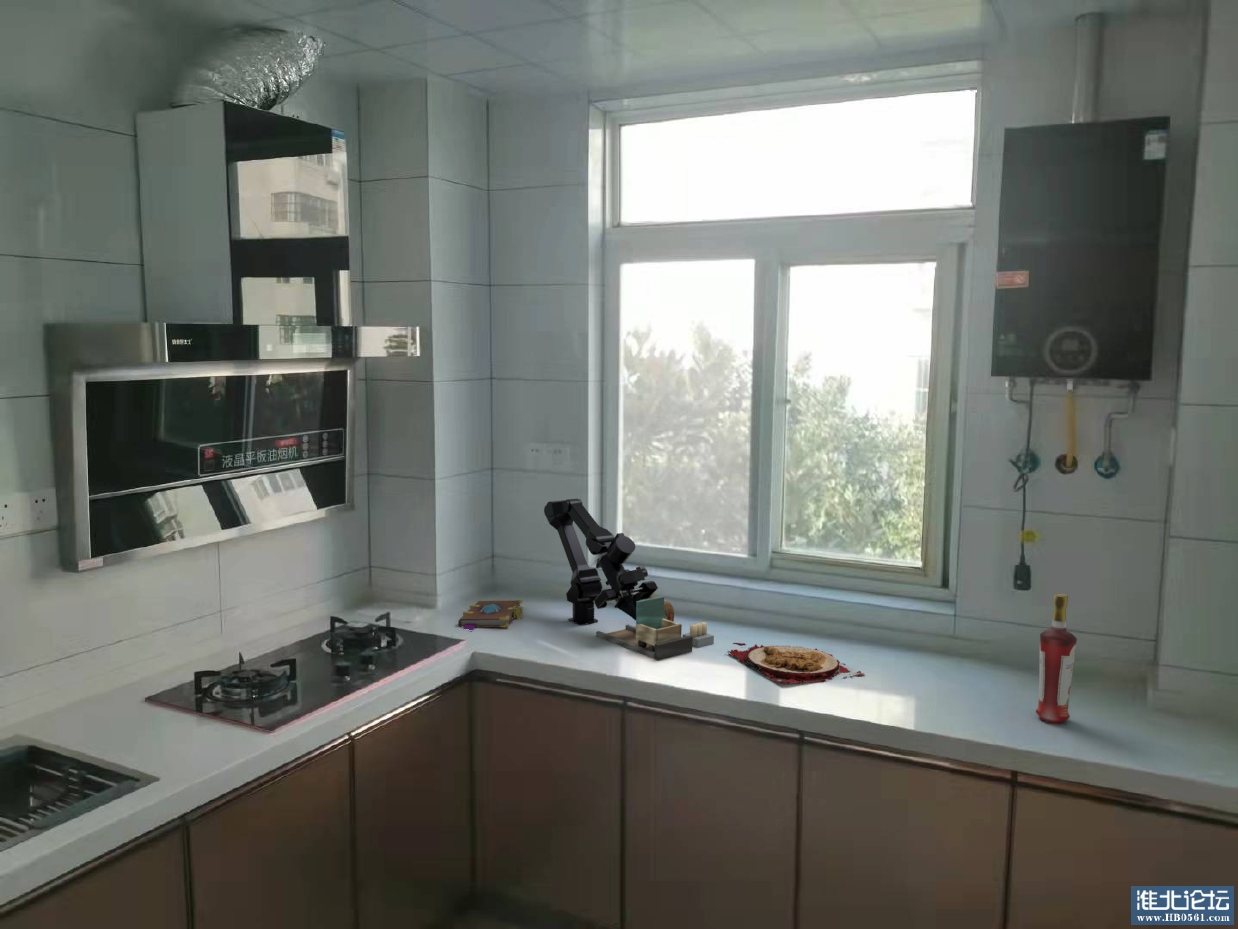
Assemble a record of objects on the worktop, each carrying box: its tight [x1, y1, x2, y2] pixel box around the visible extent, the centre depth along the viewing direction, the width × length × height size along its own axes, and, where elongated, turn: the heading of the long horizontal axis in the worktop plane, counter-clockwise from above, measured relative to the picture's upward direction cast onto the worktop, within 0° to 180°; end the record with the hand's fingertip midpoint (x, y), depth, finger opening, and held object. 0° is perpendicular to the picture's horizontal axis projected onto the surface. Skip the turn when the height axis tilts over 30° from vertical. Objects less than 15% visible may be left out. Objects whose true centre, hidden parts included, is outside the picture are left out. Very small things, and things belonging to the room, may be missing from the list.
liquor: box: [1035, 593, 1078, 724], centre depth 208 cm, size 7×7×28 cm
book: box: [458, 599, 524, 633], centre depth 279 cm, size 16×25×5 cm, turn 173°
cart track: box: [595, 624, 693, 661], centre depth 256 cm, size 26×12×5 cm, turn 40°
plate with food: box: [728, 642, 865, 685], centre depth 243 cm, size 25×26×4 cm
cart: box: [635, 595, 683, 652], centre depth 251 cm, size 8×9×13 cm
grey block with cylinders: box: [682, 621, 715, 648], centre depth 258 cm, size 6×6×6 cm
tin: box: [648, 595, 675, 622], centre depth 275 cm, size 15×3×8 cm, turn 25°
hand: (640, 621), depth 257 cm, fingers closed
